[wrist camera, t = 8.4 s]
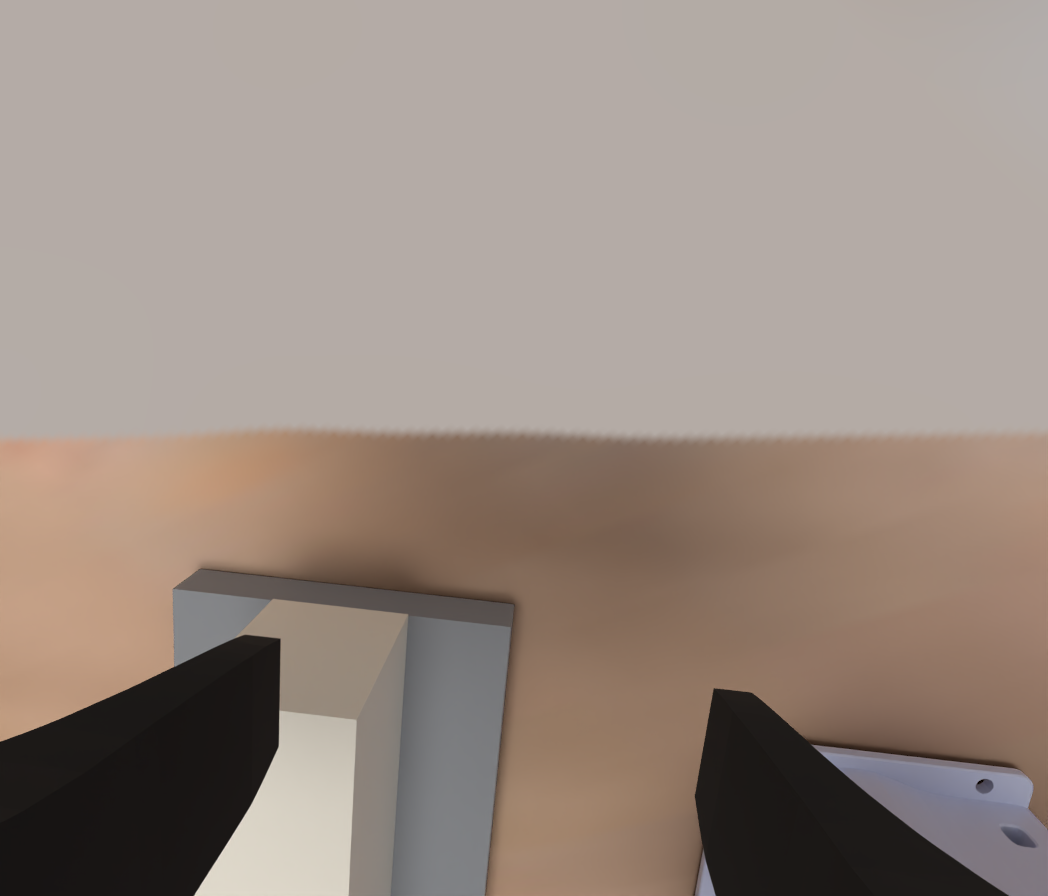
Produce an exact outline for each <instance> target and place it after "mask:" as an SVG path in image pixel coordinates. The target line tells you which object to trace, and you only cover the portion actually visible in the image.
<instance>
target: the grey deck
mask: <svg viewBox="0 0 1048 896" xmlns="http://www.w3.org/2000/svg"><path fill="white" fill-rule="evenodd" d="M272 599H279V600H288V601H296V602H305V603H314V604H323V605H331V606H340V607H349V608H358V609H367V610H375V611H384V612H393V613H402V614H408V629H407V645H406V660H405V676H404V692H403V708H402V724H401V739H400V755H399V771H398V787H397V802H396V818H395V834H394V850H393V865H392V881H391V896H485V895H486V885H487V875H488V865H489V855H490V845H491V835H492V825H493V815H494V805H495V795H496V785H497V775H498V765H499V755H500V745H501V735H502V724H503V714H504V704H505V694H506V684H507V674H508V664H509V654H510V644H511V634H512V624H513V614H514V604H508V603H499V602H490V601H481V600H473V599H464V598H455V597H446V596H437V595H428V594H419V593H410V592H401V591H392V590H383V589H374V588H365V587H356V586H347V585H339V584H330V583H321V582H312V581H303V580H294V579H285V578H276V577H267V576H258V575H249V574H240V573H231V572H222V571H214V570H205V569H199V570H198V571H196V572H195V573H194V574H192V575H191V576H190V577H188V578H187V579H186V580H184V581H183V582H181V583H180V584H179V585H177V586H176V587H175V588H173V624H174V667H175V666H177V665H179V664H181V663H183V662H185V661H187V660H189V659H192V658H194V657H196V656H198V655H200V654H202V653H204V652H206V651H208V650H210V649H212V648H214V647H216V646H219V645H221V644H223V643H225V642H227V641H230V640H232V639H234V638H235V637H236V636H237V635H238V634H239V633H240V632H241V631H242V630H243V629H244V628H245V627H246V626H247V625H248V624H249V623H250V622H251V621H252V620H253V619H254V618H255V617H256V616H257V615H258V614H259V613H260V612H261V611H262V610H263V609H264V608H265V607H266V606H267V605H268V604H269V603H270V601H271V600H272Z"/></svg>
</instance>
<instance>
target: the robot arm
mask: <svg viewBox="0 0 1048 896" xmlns="http://www.w3.org/2000/svg"><path fill="white" fill-rule="evenodd" d="M280 651H281V639H280V638H271V637H262V636H254V635H242V636H240V637H237V638H234V639H232V640H230V641H227V642H225V643H223V644H221V645H219V646H216V647H214V648H212V649H210V650H208V651H206V652H204V653H202V654H200V655H198V656H196V657H194V658H192V659H189V660H187V661H185V662H183V663H181V664H179V665H177V666H175V667H173V668H171V669H169V670H167V671H165V672H163V673H161V674H159V675H156V676H154V677H152V678H150V679H148V680H146V681H144V682H142V683H140V684H138V685H136V686H134V687H132V688H129V689H127V690H125V691H123V692H120V693H118V694H116V695H114V696H111V697H109V698H107V699H105V700H102V701H100V702H98V703H95V704H93V705H91V706H89V707H86V708H84V709H82V710H80V711H77V712H75V713H73V714H71V715H68V716H66V717H64V718H61V719H59V720H56V721H54V722H52V723H49V724H47V725H44V726H41V727H39V728H36V729H34V730H31V731H29V732H26V733H23V734H21V735H18V736H15V737H12V738H10V739H7V740H4V741H1V742H0V896H194V895H195V893H196V892H197V890H198V889H199V887H200V885H201V884H202V882H203V881H204V879H205V878H206V876H207V875H208V873H209V871H210V870H211V868H212V867H213V865H214V864H215V862H216V860H217V859H218V857H219V856H220V854H221V853H222V851H223V849H224V848H225V846H226V845H227V843H228V842H229V840H230V838H231V837H232V835H233V834H234V832H235V830H236V829H237V827H238V826H239V824H240V822H241V821H242V819H243V818H244V816H245V814H246V813H247V811H248V809H249V808H250V806H251V804H252V803H253V800H254V798H255V796H256V794H257V792H258V790H259V788H260V786H261V784H262V782H263V780H264V778H265V776H266V774H267V771H268V769H269V767H270V765H271V763H272V760H273V758H274V756H275V754H276V752H277V749H278V747H279V709H280ZM982 779H985V780H984V781H983V782H982V783H981V784H977V783H978V781H980V780H982ZM976 784H977V785H976ZM1032 793H1033V784H1032V781H1031V780H1030V779H1029V778H1028V777H1027V776H1026V775H1025V774H1024V773H1023V772H1022V771H1020V770H1018V769H1014V768H1006V767H998V766H989V765H981V764H972V763H964V762H955V761H947V760H938V759H929V758H921V757H912V756H904V755H895V754H887V753H878V752H870V751H861V750H852V749H844V748H835V747H827V746H818V745H811V744H810V743H809V742H808V741H806V740H805V739H804V738H803V737H802V736H801V735H800V734H799V733H798V732H796V731H795V730H794V729H793V728H792V727H791V726H790V725H789V724H788V723H787V722H785V721H784V720H783V719H782V718H781V717H780V716H779V715H778V714H776V713H775V712H774V711H773V710H772V709H771V708H770V707H769V706H767V705H766V704H765V703H764V702H763V701H761V700H760V699H759V698H758V697H756V696H755V695H754V694H753V693H750V692H741V691H732V690H724V689H715V688H714V690H713V696H712V702H711V707H710V713H709V719H708V725H707V730H706V736H705V742H704V747H703V753H702V759H701V764H700V770H699V776H698V782H697V787H696V793H695V800H696V807H697V813H698V820H699V826H700V832H701V838H702V844H703V853H702V859H701V864H700V870H699V875H698V881H697V886H696V892H695V896H1048V829H1047V828H1046V827H1045V826H1044V825H1043V824H1042V823H1041V822H1040V821H1039V820H1038V819H1037V817H1036V816H1035V815H1034V814H1033V813H1032V812H1031V811H1030V810H1029V809H1028V806H1029V803H1030V799H1031V796H1032Z"/></svg>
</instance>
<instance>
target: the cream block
mask: <svg viewBox="0 0 1048 896" xmlns="http://www.w3.org/2000/svg"><path fill="white" fill-rule="evenodd" d="M407 629H408V614H402V613H393V612H384V611H375V610H367V609H358V608H349V607H340V606H331V605H323V604H314V603H305V602H296V601H288V600H279V599H272V600H271V601H270V603H269V604H268V605H267V606H266V607H265V608H264V609H263V610H262V611H261V612H260V613H259V614H258V615H257V616H256V617H255V618H254V619H253V620H252V621H251V622H250V623H249V624H248V625H247V626H246V627H245V628H244V629H243V630H242V631H241V632H240V633H239V634H238V635H237V636H236V637H235V638H237V637H240V636H242V635H254V636H262V637H271V638H280V639H281V651H280V709H279V747H278V749H277V752H276V754H275V756H274V758H273V760H272V763H271V765H270V767H269V769H268V771H267V774H266V776H265V778H264V780H263V782H262V784H261V786H260V788H259V790H258V792H257V794H256V796H255V798H254V800H253V803H252V804H251V806H250V808H249V809H248V811H247V813H246V814H245V816H244V818H243V819H242V821H241V822H240V824H239V826H238V827H237V829H236V830H235V832H234V834H233V835H232V837H231V838H230V840H229V842H228V843H227V845H226V846H225V848H224V849H223V851H222V853H221V854H220V856H219V857H218V859H217V860H216V862H215V864H214V865H213V867H212V868H211V870H210V871H209V873H208V875H207V876H206V878H205V879H204V881H203V882H202V884H201V885H200V887H199V889H198V890H197V892H196V893H195V895H194V896H391V881H392V865H393V850H394V834H395V818H396V802H397V787H398V771H399V755H400V739H401V724H402V708H403V692H404V676H405V660H406V645H407Z"/></svg>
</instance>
